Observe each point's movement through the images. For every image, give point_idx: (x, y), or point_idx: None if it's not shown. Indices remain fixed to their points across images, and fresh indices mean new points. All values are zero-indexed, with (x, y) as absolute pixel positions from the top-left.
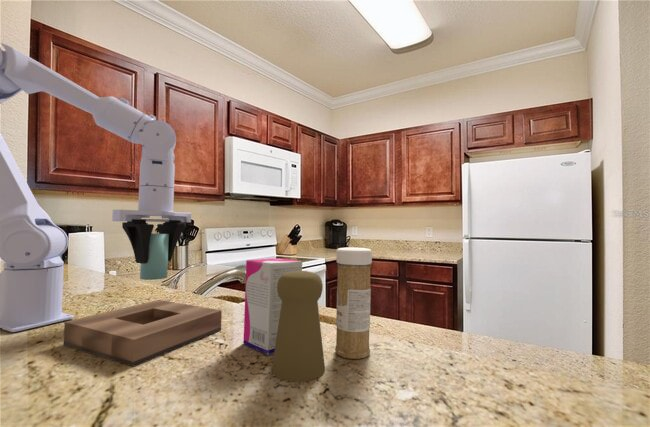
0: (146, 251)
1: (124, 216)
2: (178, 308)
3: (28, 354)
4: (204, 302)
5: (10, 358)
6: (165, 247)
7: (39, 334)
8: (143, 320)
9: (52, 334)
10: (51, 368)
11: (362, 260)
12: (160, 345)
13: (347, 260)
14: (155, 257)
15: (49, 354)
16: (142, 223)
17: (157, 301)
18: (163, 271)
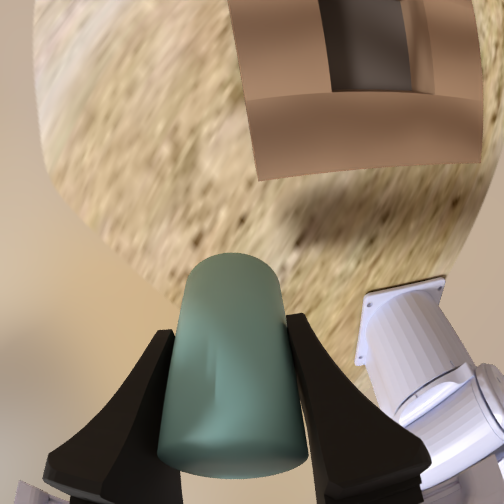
0: (310, 348)
1: (485, 485)
2: (286, 26)
3: (484, 154)
4: (88, 217)
5: (495, 160)
6: (200, 361)
7: (435, 243)
8: (352, 90)
9: (430, 226)
10: (491, 70)
11: None
12: None
13: None
14: (257, 322)
15: None
16: (367, 496)
17: (274, 163)
18: (216, 271)
